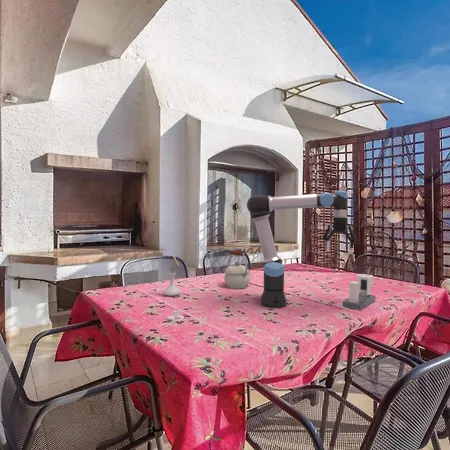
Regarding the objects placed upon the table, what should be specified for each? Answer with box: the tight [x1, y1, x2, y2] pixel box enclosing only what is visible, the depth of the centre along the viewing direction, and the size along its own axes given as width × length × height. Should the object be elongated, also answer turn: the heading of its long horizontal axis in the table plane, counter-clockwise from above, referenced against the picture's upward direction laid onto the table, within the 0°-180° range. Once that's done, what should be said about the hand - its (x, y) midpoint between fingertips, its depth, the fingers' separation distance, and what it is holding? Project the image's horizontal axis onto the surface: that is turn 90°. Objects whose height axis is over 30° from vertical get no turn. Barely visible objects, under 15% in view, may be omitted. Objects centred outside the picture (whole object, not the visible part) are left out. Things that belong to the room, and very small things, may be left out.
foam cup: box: [356, 273, 374, 295], centre depth 215 cm, size 10×9×13 cm
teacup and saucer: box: [166, 309, 185, 322], centre depth 168 cm, size 9×8×4 cm
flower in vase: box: [162, 254, 182, 297], centre depth 214 cm, size 13×11×25 cm
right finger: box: [348, 281, 359, 304], centre depth 190 cm, size 5×4×13 cm
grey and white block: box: [342, 277, 376, 311], centre depth 197 cm, size 10×26×14 cm, turn 139°
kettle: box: [223, 250, 251, 290], centre depth 239 cm, size 25×18×25 cm
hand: (338, 252), depth 200 cm, fingers open, 13 cm apart
